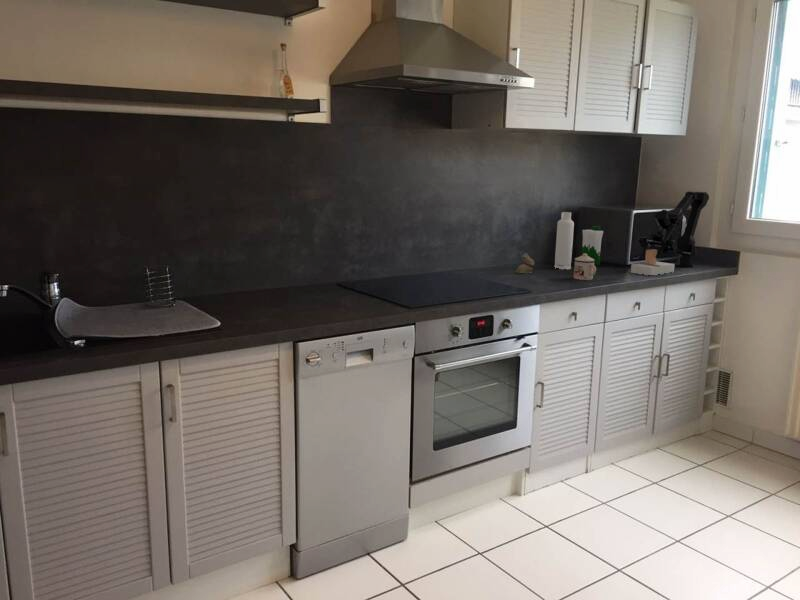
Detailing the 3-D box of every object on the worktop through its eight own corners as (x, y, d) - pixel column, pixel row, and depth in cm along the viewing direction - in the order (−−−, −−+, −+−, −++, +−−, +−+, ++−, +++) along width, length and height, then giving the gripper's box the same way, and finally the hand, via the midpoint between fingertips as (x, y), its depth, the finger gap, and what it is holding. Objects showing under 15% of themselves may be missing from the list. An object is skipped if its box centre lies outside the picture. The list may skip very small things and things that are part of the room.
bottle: (573, 269, 325) (577, 213, 319) (558, 269, 324) (562, 213, 318) (566, 266, 333) (570, 211, 327) (551, 267, 331) (555, 211, 325)
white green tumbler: (602, 265, 338) (605, 227, 334) (587, 266, 335) (590, 227, 331) (592, 263, 346) (595, 225, 342) (577, 263, 344) (580, 225, 339)
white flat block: (653, 268, 330) (654, 260, 329) (673, 272, 322) (674, 263, 321) (630, 272, 318) (631, 263, 317) (650, 276, 310) (651, 266, 309)
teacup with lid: (568, 277, 302) (570, 252, 300) (583, 276, 306) (585, 251, 304) (586, 282, 292) (588, 256, 289) (602, 280, 296) (604, 255, 293)
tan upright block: (650, 271, 324) (653, 249, 322) (655, 271, 322) (657, 249, 320) (643, 272, 320) (646, 250, 318) (648, 272, 319) (650, 250, 316)
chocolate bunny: (530, 275, 307) (531, 254, 305) (514, 273, 312) (515, 252, 310) (534, 273, 312) (535, 252, 310) (519, 271, 316) (520, 251, 314)
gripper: (642, 220, 326) (627, 244, 321) (676, 224, 311) (661, 248, 307) (649, 235, 332) (634, 258, 328) (683, 239, 317) (669, 263, 313)
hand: (649, 256), depth 319 cm, fingers open, 7 cm apart
